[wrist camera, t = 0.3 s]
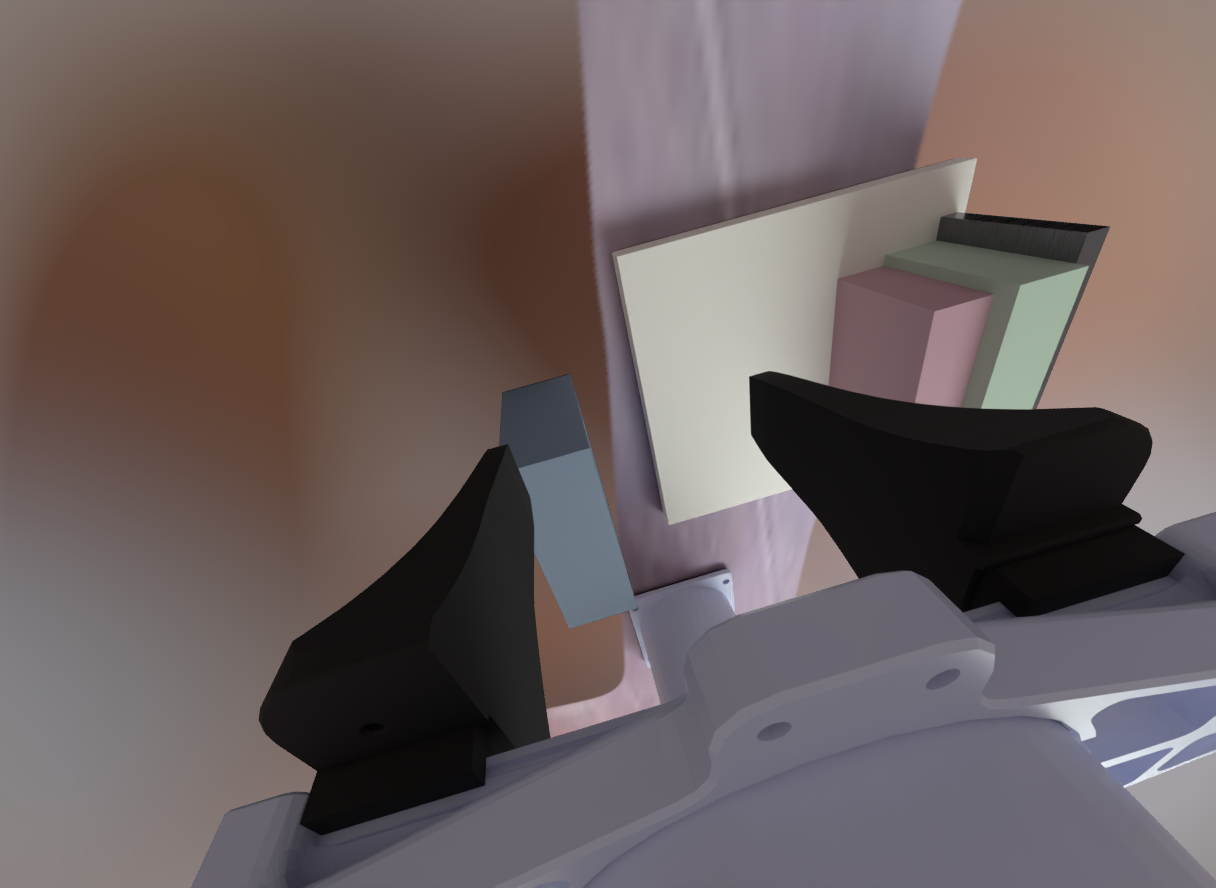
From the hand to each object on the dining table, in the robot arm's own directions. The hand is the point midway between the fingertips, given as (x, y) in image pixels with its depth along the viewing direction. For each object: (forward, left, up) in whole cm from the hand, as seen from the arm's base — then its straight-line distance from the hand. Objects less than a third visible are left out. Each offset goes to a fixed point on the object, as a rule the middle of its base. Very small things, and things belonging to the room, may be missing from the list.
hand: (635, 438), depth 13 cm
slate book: (-7, +3, -10) cm, 12 cm away
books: (-5, -14, -9) cm, 17 cm away
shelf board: (-5, -10, -10) cm, 15 cm away
